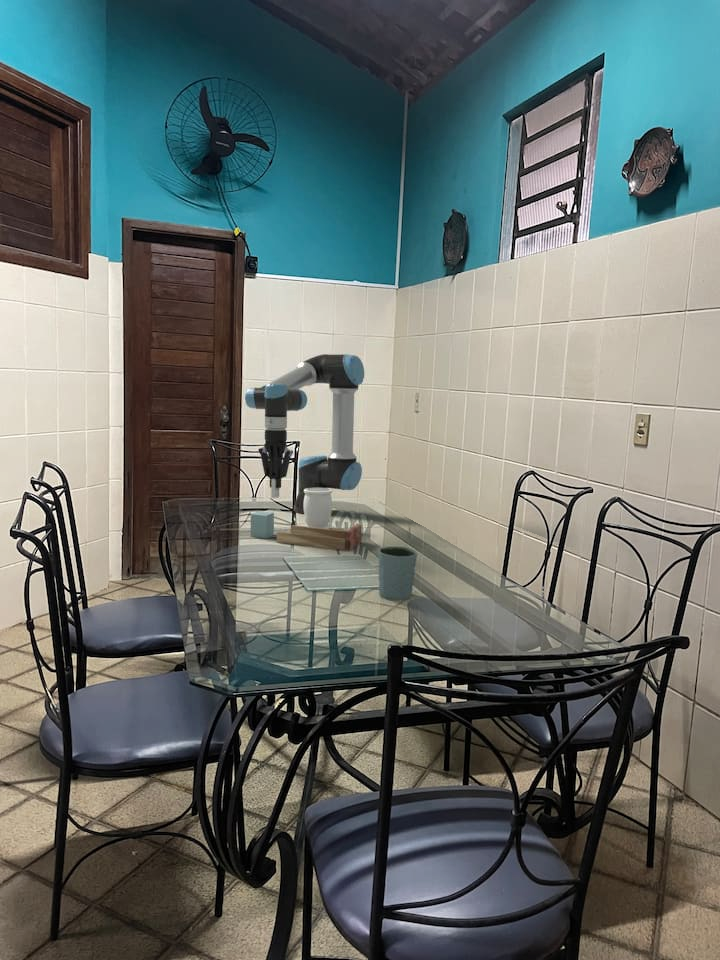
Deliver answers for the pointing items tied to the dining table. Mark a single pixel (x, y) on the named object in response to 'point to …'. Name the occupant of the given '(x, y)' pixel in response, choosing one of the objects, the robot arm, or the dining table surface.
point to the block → (262, 524)
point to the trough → (321, 537)
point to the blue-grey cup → (396, 572)
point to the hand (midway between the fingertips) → (275, 497)
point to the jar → (317, 507)
